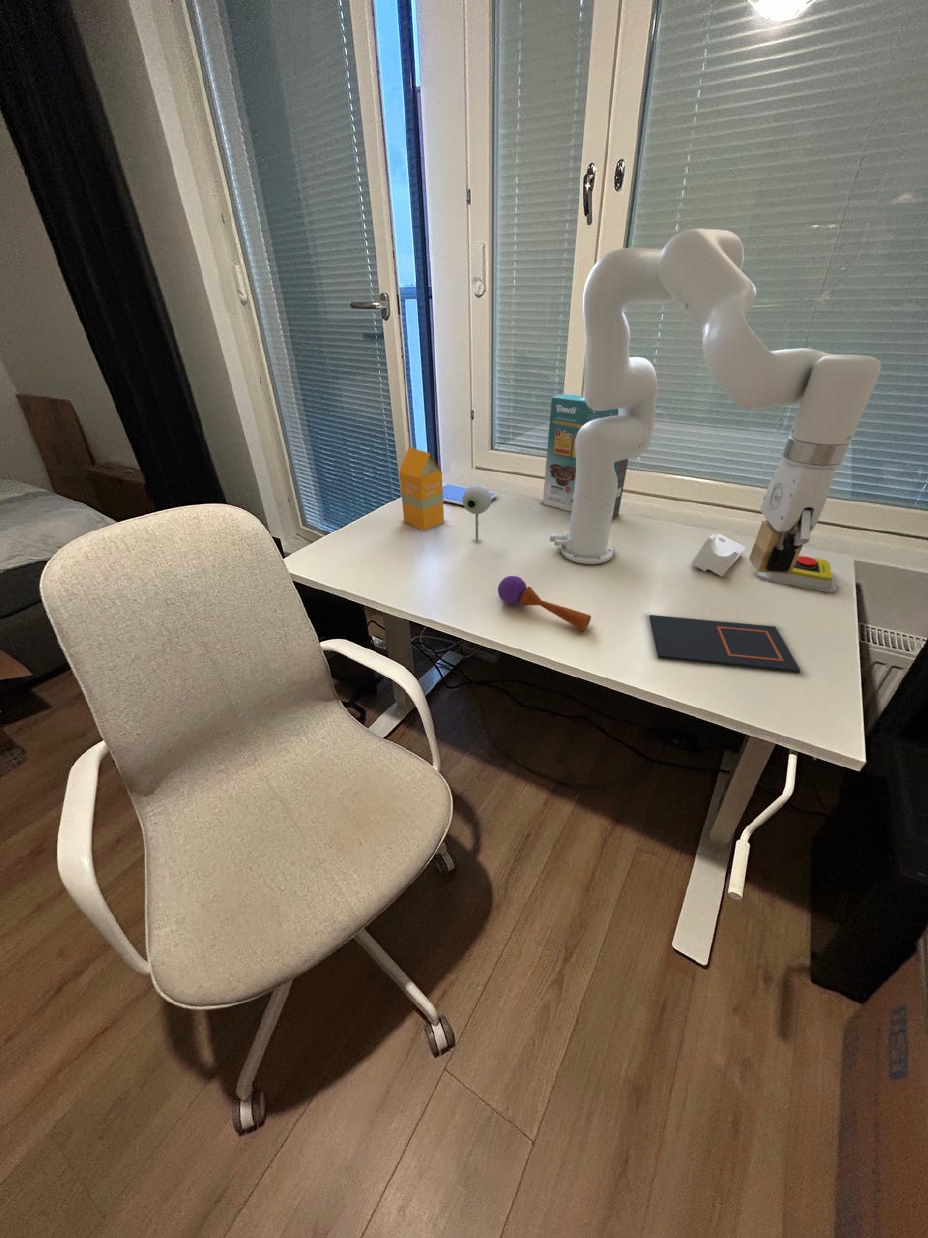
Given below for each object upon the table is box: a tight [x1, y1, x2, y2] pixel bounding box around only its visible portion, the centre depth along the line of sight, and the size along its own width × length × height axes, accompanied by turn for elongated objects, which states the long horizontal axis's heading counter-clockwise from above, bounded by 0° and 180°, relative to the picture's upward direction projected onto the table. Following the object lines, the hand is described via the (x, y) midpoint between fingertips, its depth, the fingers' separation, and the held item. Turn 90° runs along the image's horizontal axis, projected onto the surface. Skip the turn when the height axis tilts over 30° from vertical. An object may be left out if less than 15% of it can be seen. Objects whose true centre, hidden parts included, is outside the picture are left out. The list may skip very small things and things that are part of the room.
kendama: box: [497, 575, 592, 632], centre depth 96 cm, size 6×6×20 cm
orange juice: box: [398, 446, 445, 531], centre depth 130 cm, size 8×9×20 cm
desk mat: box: [649, 614, 801, 674], centre depth 89 cm, size 23×13×1 cm, turn 79°
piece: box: [748, 520, 804, 574], centre depth 78 cm, size 5×5×8 cm
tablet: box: [443, 483, 498, 506], centre depth 151 cm, size 19×13×1 cm, turn 57°
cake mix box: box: [542, 393, 629, 520], centre depth 134 cm, size 22×6×30 cm, turn 49°
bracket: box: [691, 532, 747, 577], centre depth 112 cm, size 13×7×8 cm, turn 138°
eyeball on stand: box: [462, 484, 492, 543], centre depth 121 cm, size 7×7×15 cm
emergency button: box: [756, 555, 837, 594], centre depth 107 cm, size 9×4×15 cm
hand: (771, 561), depth 80 cm, fingers closed on piece, 5 cm apart
